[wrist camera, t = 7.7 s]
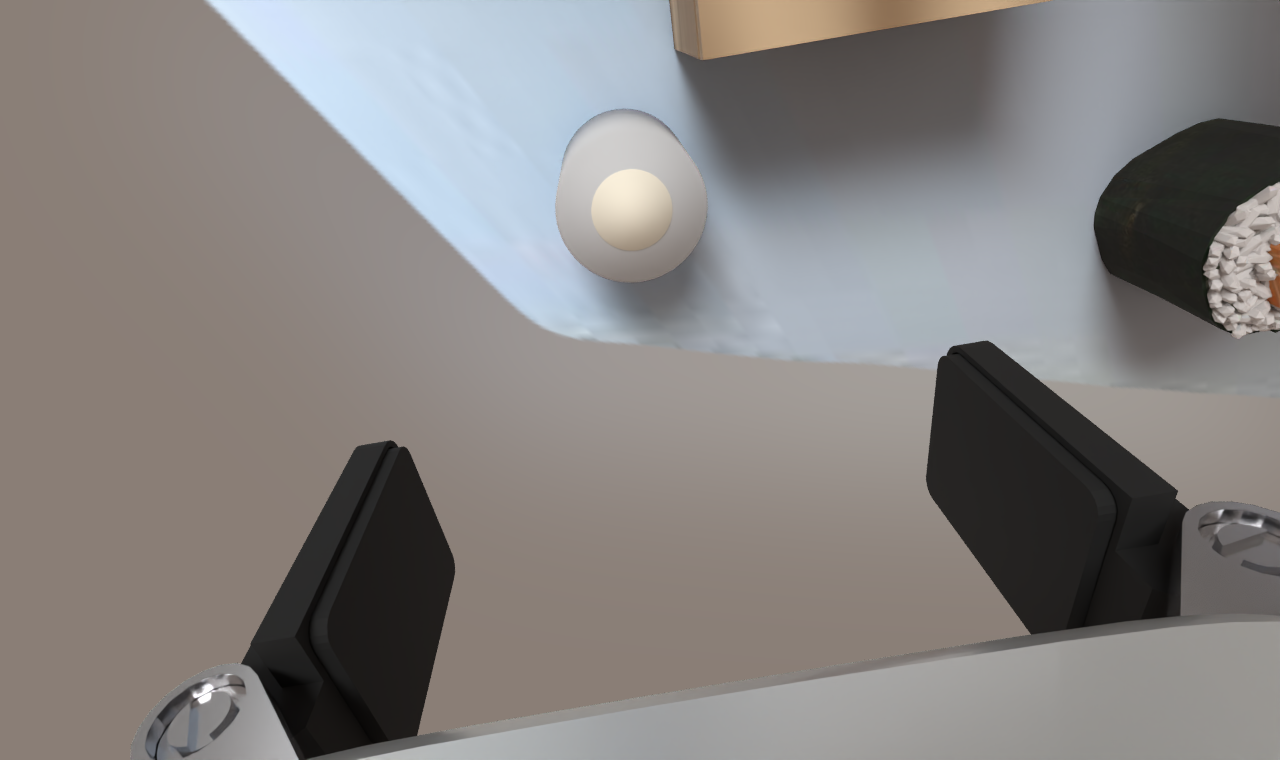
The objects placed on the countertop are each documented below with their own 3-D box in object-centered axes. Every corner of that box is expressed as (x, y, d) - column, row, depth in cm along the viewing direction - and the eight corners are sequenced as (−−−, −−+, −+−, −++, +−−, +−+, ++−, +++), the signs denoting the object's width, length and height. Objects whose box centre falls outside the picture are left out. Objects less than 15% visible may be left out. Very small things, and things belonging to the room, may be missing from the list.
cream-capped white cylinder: (679, 98, 28) (700, 117, 23) (693, 227, 31) (714, 270, 26) (548, 120, 28) (539, 145, 23) (575, 247, 31) (572, 294, 26)
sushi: (1268, 223, 33) (1444, 276, 27) (1110, 305, 35) (1236, 376, 28) (1253, 83, 30) (1452, 104, 23) (1078, 184, 32) (1213, 231, 25)
